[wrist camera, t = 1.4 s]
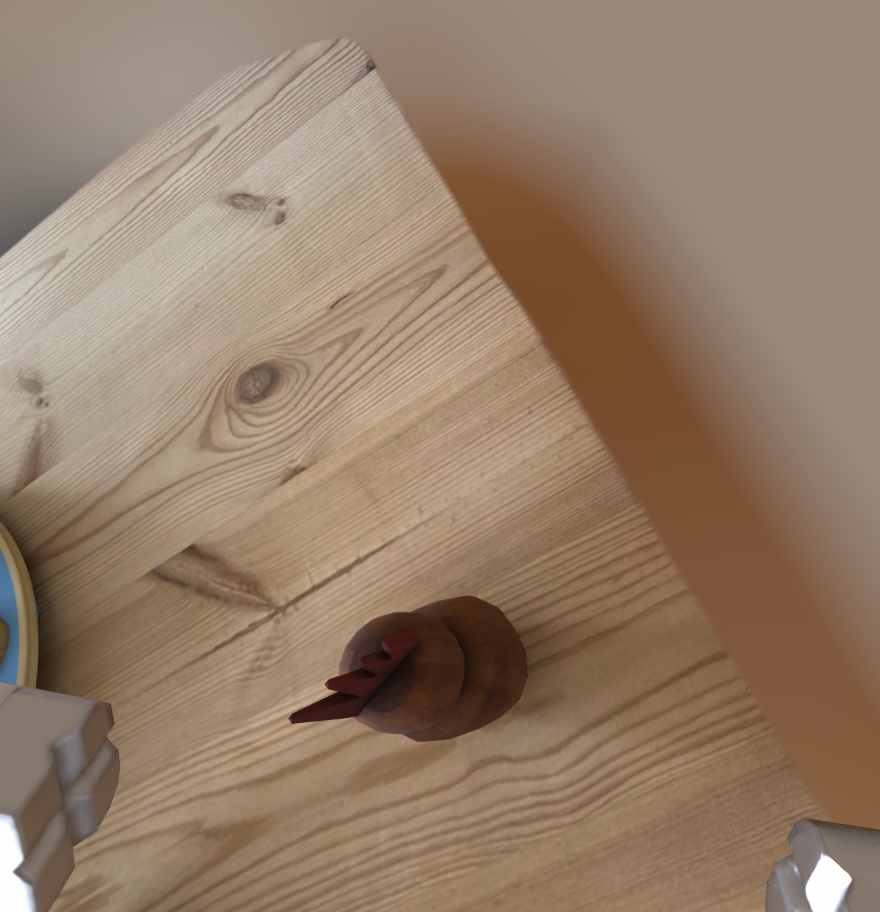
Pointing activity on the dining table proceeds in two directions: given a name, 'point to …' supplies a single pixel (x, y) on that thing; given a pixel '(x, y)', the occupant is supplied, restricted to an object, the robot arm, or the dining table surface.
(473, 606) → the wooden figurine
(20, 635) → the shape sorting clock
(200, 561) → the dining table surface
